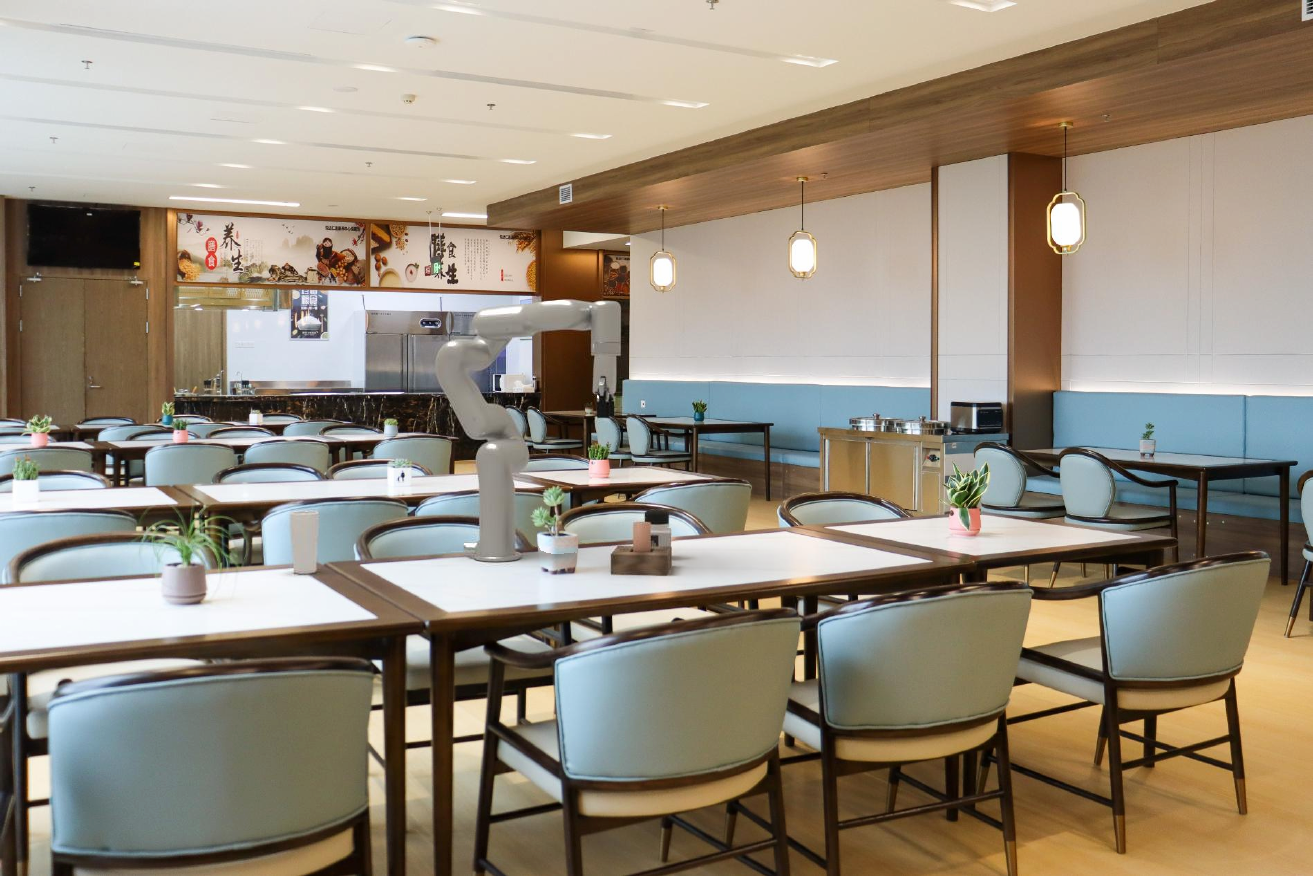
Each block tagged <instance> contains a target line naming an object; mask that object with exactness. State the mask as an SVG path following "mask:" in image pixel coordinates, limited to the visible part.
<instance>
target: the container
mask: <svg viewBox="0 0 1313 876" xmlns="http://www.w3.org/2000/svg"><path fill="white" fill-rule="evenodd" d="M644 522H650V523H651V546H660V547H672V528H671V527H670V512H669V511H667V510H666V509H658V508H657V509H648V510H646V511H644Z"/></svg>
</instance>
